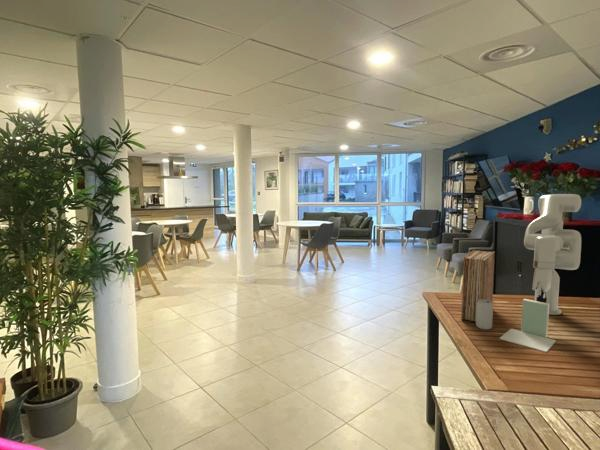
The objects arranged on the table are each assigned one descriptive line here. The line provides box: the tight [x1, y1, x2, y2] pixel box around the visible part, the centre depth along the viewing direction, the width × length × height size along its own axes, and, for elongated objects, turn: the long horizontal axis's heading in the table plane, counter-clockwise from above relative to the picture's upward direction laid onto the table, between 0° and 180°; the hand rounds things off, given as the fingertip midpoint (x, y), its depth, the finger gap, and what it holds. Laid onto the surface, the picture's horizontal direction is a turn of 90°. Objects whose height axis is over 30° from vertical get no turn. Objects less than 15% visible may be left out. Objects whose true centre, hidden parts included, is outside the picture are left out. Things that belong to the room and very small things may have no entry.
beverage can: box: [475, 299, 494, 331], centre depth 151 cm, size 6×6×12 cm
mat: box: [499, 328, 557, 353], centre depth 139 cm, size 14×16×1 cm
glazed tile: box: [520, 298, 550, 338], centre depth 144 cm, size 2×9×14 cm, turn 42°
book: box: [460, 248, 496, 323], centre depth 167 cm, size 25×9×30 cm, turn 143°
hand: (541, 306), depth 150 cm, fingers closed
